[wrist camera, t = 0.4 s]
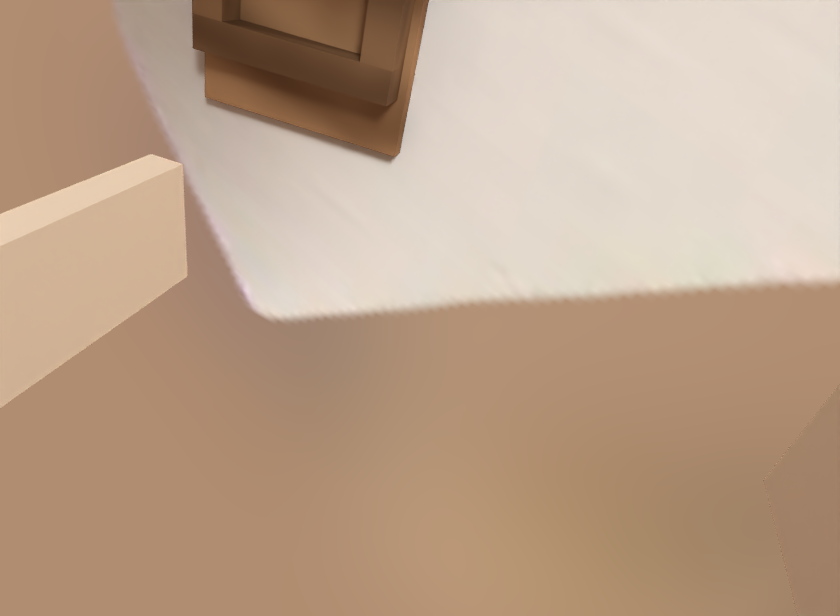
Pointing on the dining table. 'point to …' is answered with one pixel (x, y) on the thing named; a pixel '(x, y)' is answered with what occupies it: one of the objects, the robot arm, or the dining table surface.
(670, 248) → the dining table surface
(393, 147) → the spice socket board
